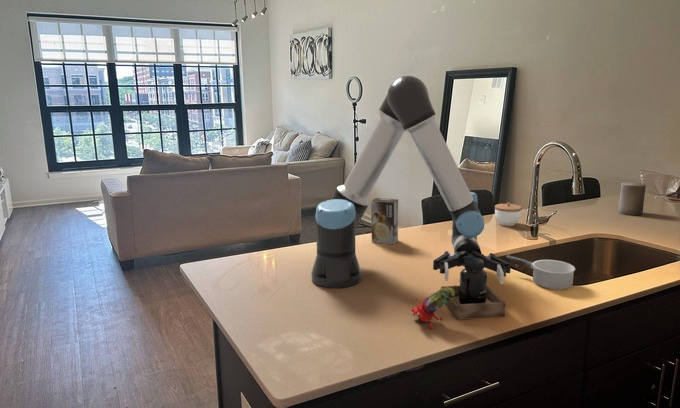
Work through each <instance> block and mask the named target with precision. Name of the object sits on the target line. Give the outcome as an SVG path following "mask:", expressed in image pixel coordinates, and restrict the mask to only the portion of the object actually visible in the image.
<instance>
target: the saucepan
mask: <svg viewBox="0 0 680 408" xmlns="http://www.w3.org/2000/svg"><path fill="white" fill-rule="evenodd" d="M506 258H507V259H509V260H512V261H515V262H519V263H522V264H524V265H525V266H526V267H528V269H533V271H532V272H533V274H532V281H533V282H534V283H535V284H537V285H539V286H540V287H543V288H546V289H549V290H565V289H567V288H571V287H572V286H573V282H574V274H575V273H574V272H575V271H576V267H575V266H574V265H573V264H571V263H569V262H565V261H562V260H555V259H539V260H535V261H528V260H527V259H524V258H519V257H518V256H517V257H516V256H512V255H509V254H507V255H506Z"/></svg>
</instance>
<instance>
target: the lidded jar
mask: <svg viewBox="0 0 680 408" xmlns="http://www.w3.org/2000/svg"><path fill="white" fill-rule="evenodd" d="M494 215H495V219H496V221H497V222H498V223H499V225H501V226H504V227H513V226H516V224H517V223H518V222H519V221H520V219H521V215H522V206H521V205H519V204H514V203H510V202H509V201H508V202H506V203H497V204H495V205H494Z"/></svg>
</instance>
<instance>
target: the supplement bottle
mask: <svg viewBox="0 0 680 408" xmlns="http://www.w3.org/2000/svg"><path fill="white" fill-rule="evenodd" d="M463 267H464V268H463V269H462V270H461V271H460V274H459V286H460V288H459V303H460V304H476V303H486V291H487V286H488V284H487V283H488V273H487V272H486V270H484V269H485V268H484V261H483V260H482V259H478V258H467V259H465V264H464V266H463Z"/></svg>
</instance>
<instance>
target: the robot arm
mask: <svg viewBox="0 0 680 408" xmlns="http://www.w3.org/2000/svg"><path fill="white" fill-rule="evenodd" d="M378 113H379V119H378V122H377V123H376V125H375V127H374V129H373V130H372V132H371V134H370V135H369V138H368V139H367V142H366V143H365V145H364V147H363V149H362V151H361V152H360V154H359V156H358V157H357V160H356V161H355V164H354V165H353V166H352V169H351V171H350V173H349V174H348V176H347V178H346V179H345V182H344V184H340V185H338V186H337V187H336V189H335V190H334V192H333V194H332V196H331V197H330V199H327V200H325V201H322V202H320V203H319V204H318V205H317V206H316V209H315V210H316V211H315V217H314V218H315V231H316V233H315V235H316V256H315V260H314V262H313V265H312V269H311V281H312V283H314V284H315V285H317V286H320V287H323V288H331V289H332V288H334V289H338V288H339V289H340V288H348V287H353V286H355V285H357V284H359V283H360V282H361V281H362V270H361V267H360V264H359V260H358V258H357V257H358V256H357V255H356V254H357V253H356V230H357V227H358V225H359V223H360V221H361V219H362V217H363V216H364V214H365V212H366V211H367V209H368V207H369V205H370V202H369V199H368V197H369V195H370V194H371V192H372V190H373V188H374V187H375V185H376V183H377V182H378V180H379V178H380V176H381V175H382V172H384V171H383V170H384V169H385V168H386V166H387V164H388V162H389V160H390V158H391V157H392V154H393V153H394V151H395V149H396V148H397V146H398V144H399V142H400V141H401V139H402V138H403V136H404V134H405V132H406V133H409V135H410V136H411V138H412V140H413V141H414V144H415V146H416V148H417V150H418V153H419V154H420V155H421V157H422V160H423V161H424V164H425V166H426V168H427V169H428V171H429V174H430V175H431V178H432V179H433V181H434V183H435V185H436V187H437V190H438V192H439V193H440V195H441V197H442V200H443V201H444V203H445V205H446V207H447V209H448V211H449V213H450V216H451V218H452V229H451V230H452V232H451V244H452V247H453V254H451V252H449V251H448V250H447V251H444V253H443V254H441V255H440V256H438V257H436V258H435V259H433V262H432V263H433V264H432V269H433V270H434V271H437V270H439V274H441V275H443V274H444V280H445V282H448V281H449V273H450V271H449V270H450V269H453V268H456V267H458V268H461V267H464V264H465V259H467V258H478V259H482V260H483V261H484V269H487V270H490V271H493V272H495V273H496V277H497V279H498V281H499V283H500V284H504V281H505V280H504V278H505V277H506V275H507V274H510V273H511V268H512V267H511V265H512V264H511V263H510V262H509V261H506V260H504V259H502V258H500V257H498V256H497V255H495V254H494V253H491V252H490V253H489V254H488V255H485V254H484V253H482V250H481V247H480V244H479V242H478V236H479V235H480V234H482V232H483V231H484V229H485V219H484V216H483V215H482V213H481V211H480V210H479V208H478V203H479V201H478V195H477V193H476V192H473V191H470V189H469V187H468V186H467V185H468V184H467V182H465V181H466V180H464V177H463V175H462V173H461V171H460V169H459V167H458V165H457V163H456V161H455V158H454V156H453V155H452V152H451V151H450V149H449V147H448V144H447V142H446V141H445V138H444V136H443V134H442V132H441V130H440V128H439V126H438V125H437V122H436V121H435V120H436V117H437V114H436V112H435V109H434V107H433V105H432V102H431V100H430V96H429V91H428V88H427V86H426V84H425V83H424V82H423V81H422V80H421V79H419V78H418V77H415V76H413V75H404V76H401V77H398V78H397V79H395V80H394V81H393V82H392V83H391V84H390V86H389V88H388V90H387V94H386V96H385V98H384V100H383V102H382V103H381V105H380V107H379V109H378Z"/></svg>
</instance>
